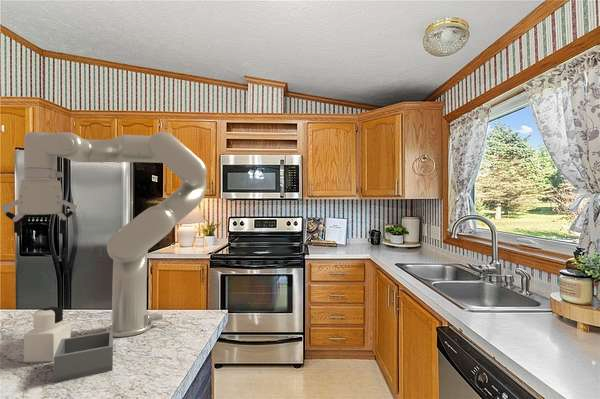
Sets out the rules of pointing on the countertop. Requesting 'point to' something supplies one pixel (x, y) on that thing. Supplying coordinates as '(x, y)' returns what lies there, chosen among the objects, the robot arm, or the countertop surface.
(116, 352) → the countertop surface
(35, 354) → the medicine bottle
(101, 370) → the bin
